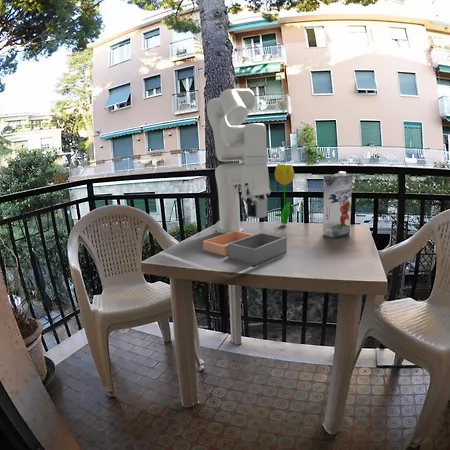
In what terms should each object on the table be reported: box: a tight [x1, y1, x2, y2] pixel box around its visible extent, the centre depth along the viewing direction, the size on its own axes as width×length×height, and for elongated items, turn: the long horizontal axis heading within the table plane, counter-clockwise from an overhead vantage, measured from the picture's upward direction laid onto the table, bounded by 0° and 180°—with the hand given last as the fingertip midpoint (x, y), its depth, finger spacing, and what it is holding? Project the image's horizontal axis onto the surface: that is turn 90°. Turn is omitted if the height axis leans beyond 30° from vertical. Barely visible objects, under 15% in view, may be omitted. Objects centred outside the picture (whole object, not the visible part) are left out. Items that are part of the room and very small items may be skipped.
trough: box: [202, 231, 254, 257], centre depth 125 cm, size 12×18×4 cm, turn 134°
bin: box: [228, 232, 288, 268], centre depth 115 cm, size 12×18×6 cm, turn 134°
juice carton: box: [322, 170, 354, 239], centre depth 133 cm, size 9×10×27 cm
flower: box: [274, 163, 295, 225], centre depth 154 cm, size 9×8×30 cm
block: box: [246, 197, 268, 219], centre depth 111 cm, size 5×5×6 cm
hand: (257, 214), depth 112 cm, fingers closed on block, 5 cm apart
